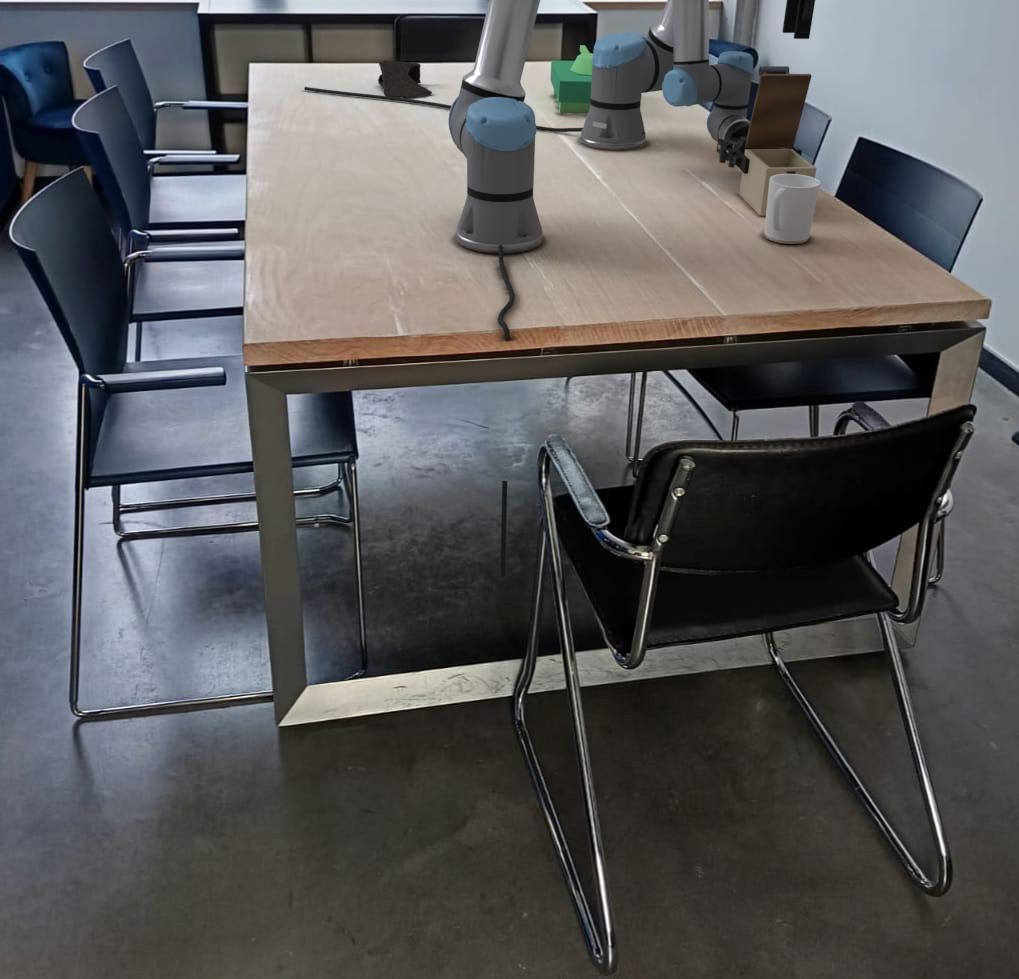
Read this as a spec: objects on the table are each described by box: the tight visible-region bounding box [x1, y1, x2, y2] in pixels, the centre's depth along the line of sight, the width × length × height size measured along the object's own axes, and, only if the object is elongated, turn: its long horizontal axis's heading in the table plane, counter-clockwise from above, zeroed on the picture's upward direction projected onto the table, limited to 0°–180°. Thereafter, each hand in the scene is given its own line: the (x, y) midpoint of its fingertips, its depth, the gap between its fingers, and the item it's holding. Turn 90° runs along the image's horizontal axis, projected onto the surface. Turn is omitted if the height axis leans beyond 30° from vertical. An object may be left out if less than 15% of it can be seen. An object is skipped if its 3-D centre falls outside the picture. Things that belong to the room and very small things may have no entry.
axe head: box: [377, 59, 433, 99], centre depth 299 cm, size 18×8×15 cm
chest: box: [738, 149, 817, 217], centre depth 215 cm, size 14×10×9 cm
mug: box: [763, 174, 822, 245], centre depth 197 cm, size 11×9×10 cm
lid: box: [745, 65, 812, 148], centre depth 216 cm, size 15×10×8 cm
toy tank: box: [550, 44, 593, 115], centre depth 290 cm, size 18×12×35 cm
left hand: (795, 35), depth 202 cm, fingers open, 6 cm apart
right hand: (772, 166), depth 217 cm, fingers closed on chest, 10 cm apart
